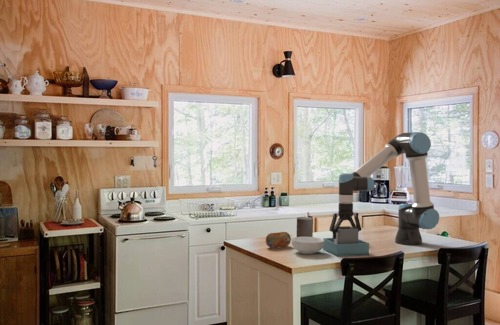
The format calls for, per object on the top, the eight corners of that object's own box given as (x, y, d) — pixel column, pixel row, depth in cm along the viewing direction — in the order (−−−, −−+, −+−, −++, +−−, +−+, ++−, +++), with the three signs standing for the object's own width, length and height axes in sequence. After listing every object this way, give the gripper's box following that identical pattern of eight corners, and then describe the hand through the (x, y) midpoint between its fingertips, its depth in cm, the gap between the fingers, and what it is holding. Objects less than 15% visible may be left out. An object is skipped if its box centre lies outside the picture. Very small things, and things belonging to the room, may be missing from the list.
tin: (267, 248, 263) (267, 233, 263) (264, 247, 266) (264, 232, 266) (291, 246, 270) (291, 231, 270) (288, 245, 273) (288, 230, 273)
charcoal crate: (349, 244, 262) (349, 226, 262) (358, 248, 253) (358, 229, 252) (332, 245, 260) (332, 226, 260) (340, 249, 250) (340, 229, 250)
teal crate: (353, 247, 267) (353, 237, 267) (368, 254, 250) (368, 243, 250) (322, 249, 263) (322, 238, 263) (336, 256, 245) (336, 244, 245)
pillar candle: (293, 241, 286) (293, 215, 286) (302, 238, 294) (302, 214, 293) (306, 243, 280) (307, 217, 279) (315, 240, 288) (316, 215, 287)
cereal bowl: (301, 257, 243) (301, 243, 243) (286, 250, 258) (286, 237, 258) (330, 254, 250) (330, 241, 250) (313, 248, 265) (313, 235, 265)
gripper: (361, 201, 262) (361, 242, 263) (323, 202, 256) (322, 243, 257) (368, 203, 255) (368, 244, 255) (328, 203, 249) (328, 246, 250)
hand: (345, 244), depth 256 cm, fingers closed on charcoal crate, 10 cm apart
